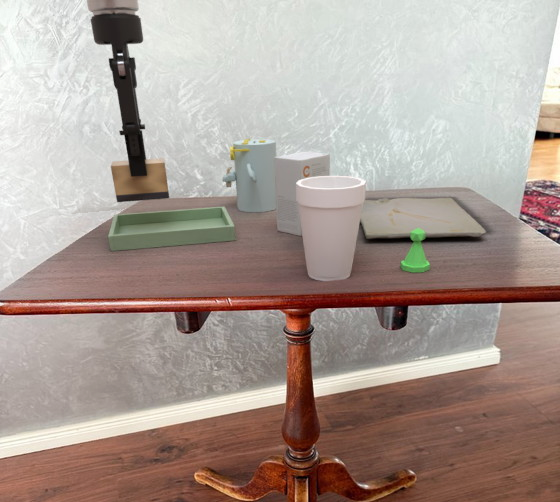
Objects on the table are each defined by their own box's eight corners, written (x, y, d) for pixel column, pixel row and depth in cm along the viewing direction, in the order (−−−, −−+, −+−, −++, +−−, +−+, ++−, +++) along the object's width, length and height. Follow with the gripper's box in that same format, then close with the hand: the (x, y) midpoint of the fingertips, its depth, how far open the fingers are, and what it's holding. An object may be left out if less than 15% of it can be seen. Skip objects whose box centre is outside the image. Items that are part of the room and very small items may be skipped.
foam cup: (297, 285, 76) (296, 190, 70) (296, 264, 84) (295, 176, 78) (365, 284, 76) (370, 188, 69) (357, 262, 84) (361, 174, 77)
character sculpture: (229, 198, 126) (224, 135, 120) (278, 196, 126) (276, 134, 119) (220, 220, 109) (214, 148, 102) (277, 218, 109) (274, 146, 102)
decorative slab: (349, 207, 115) (349, 197, 114) (449, 204, 115) (450, 195, 114) (366, 245, 92) (366, 233, 91) (492, 242, 91) (494, 230, 90)
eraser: (117, 202, 94) (110, 166, 91) (118, 196, 99) (112, 161, 96) (169, 198, 96) (164, 162, 93) (168, 192, 100) (164, 158, 97)
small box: (304, 221, 106) (304, 150, 99) (329, 227, 102) (331, 153, 96) (275, 230, 101) (273, 156, 94) (301, 236, 97) (300, 159, 91)
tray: (110, 251, 93) (107, 236, 92) (116, 228, 106) (113, 214, 105) (235, 240, 96) (234, 226, 95) (225, 219, 110) (224, 206, 108)
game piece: (410, 274, 79) (414, 233, 76) (394, 265, 82) (397, 226, 79) (435, 269, 80) (440, 229, 77) (418, 261, 84) (422, 222, 81)
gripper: (138, 8, 76) (161, 180, 88) (141, 17, 92) (160, 163, 103) (83, 9, 75) (114, 184, 87) (95, 18, 90) (120, 166, 102)
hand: (139, 172), depth 95 cm, fingers closed on eraser, 5 cm apart
